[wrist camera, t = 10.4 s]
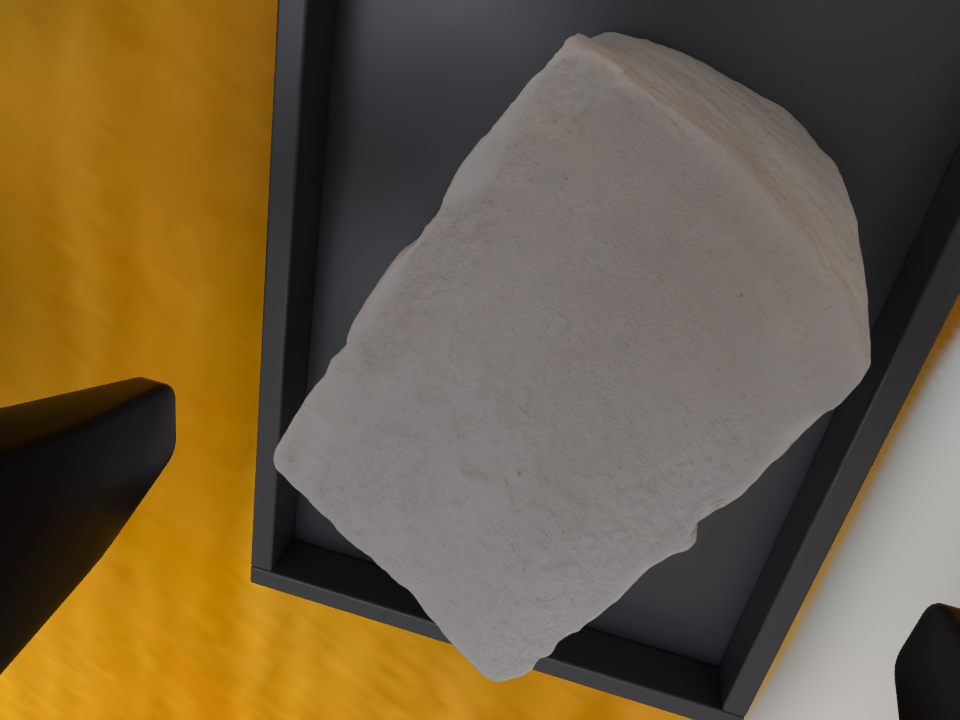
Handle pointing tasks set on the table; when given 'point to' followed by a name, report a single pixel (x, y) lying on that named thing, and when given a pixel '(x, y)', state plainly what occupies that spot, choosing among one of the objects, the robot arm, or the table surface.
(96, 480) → the robot arm
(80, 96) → the table surface
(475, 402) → the grey stone block
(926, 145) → the tray
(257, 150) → the table surface
